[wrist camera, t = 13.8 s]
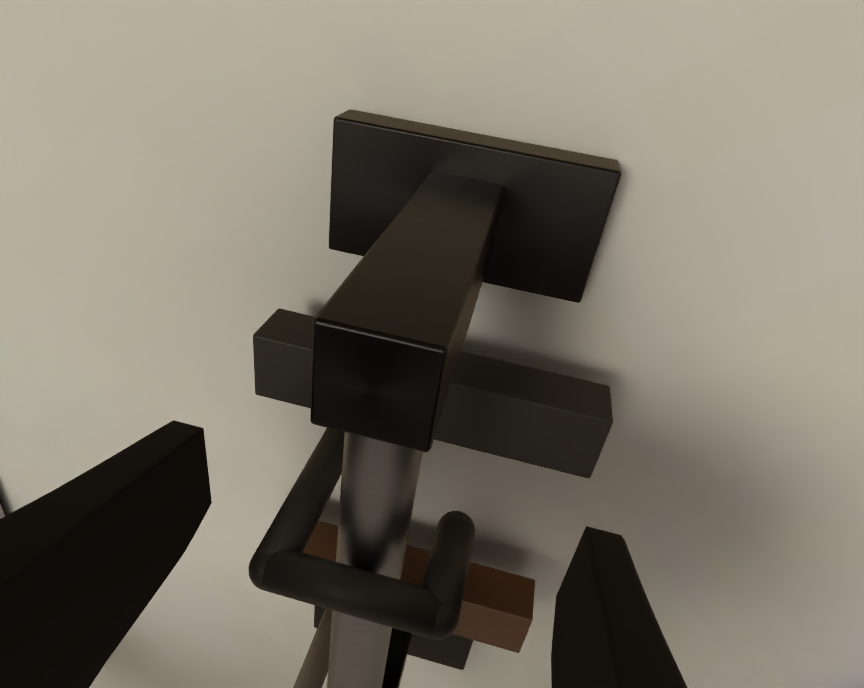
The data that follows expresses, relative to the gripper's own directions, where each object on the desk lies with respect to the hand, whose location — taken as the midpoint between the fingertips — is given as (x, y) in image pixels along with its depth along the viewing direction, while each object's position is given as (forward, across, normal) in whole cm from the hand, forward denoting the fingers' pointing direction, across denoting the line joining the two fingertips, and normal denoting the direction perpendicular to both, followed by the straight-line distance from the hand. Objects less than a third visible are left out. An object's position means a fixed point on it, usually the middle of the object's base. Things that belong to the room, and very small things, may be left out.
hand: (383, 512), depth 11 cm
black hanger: (+5, 0, 0) cm, 5 cm away
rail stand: (+6, 0, +4) cm, 7 cm away
